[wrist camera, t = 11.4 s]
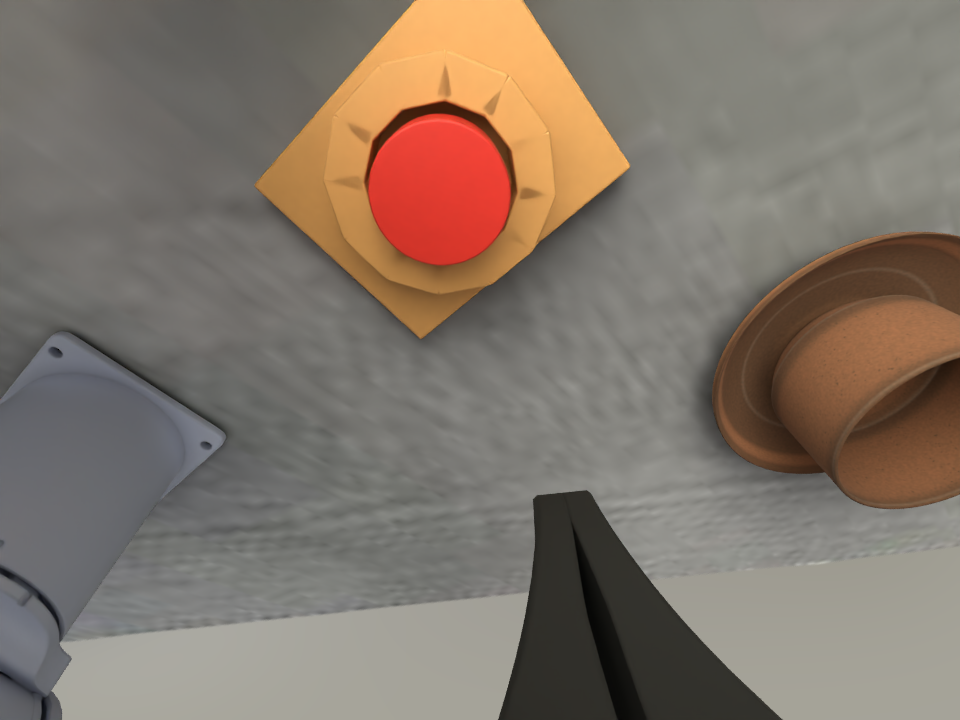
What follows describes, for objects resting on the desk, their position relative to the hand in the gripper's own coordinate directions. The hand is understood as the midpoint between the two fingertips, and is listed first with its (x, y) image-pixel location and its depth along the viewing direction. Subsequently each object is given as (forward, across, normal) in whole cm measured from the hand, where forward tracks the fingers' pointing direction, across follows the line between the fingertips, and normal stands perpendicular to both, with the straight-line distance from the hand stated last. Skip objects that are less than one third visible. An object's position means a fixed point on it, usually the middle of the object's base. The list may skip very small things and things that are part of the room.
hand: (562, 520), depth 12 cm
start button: (+7, +2, -7) cm, 10 cm away
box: (+10, +2, -7) cm, 13 cm away
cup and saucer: (+10, -14, +3) cm, 18 cm away
